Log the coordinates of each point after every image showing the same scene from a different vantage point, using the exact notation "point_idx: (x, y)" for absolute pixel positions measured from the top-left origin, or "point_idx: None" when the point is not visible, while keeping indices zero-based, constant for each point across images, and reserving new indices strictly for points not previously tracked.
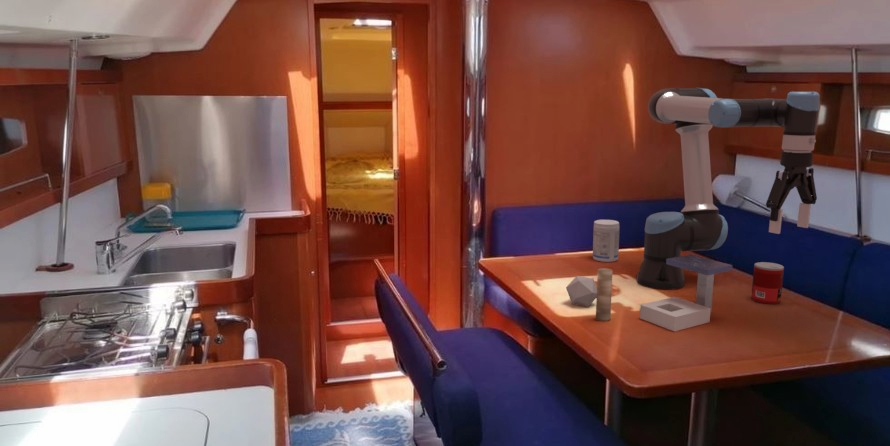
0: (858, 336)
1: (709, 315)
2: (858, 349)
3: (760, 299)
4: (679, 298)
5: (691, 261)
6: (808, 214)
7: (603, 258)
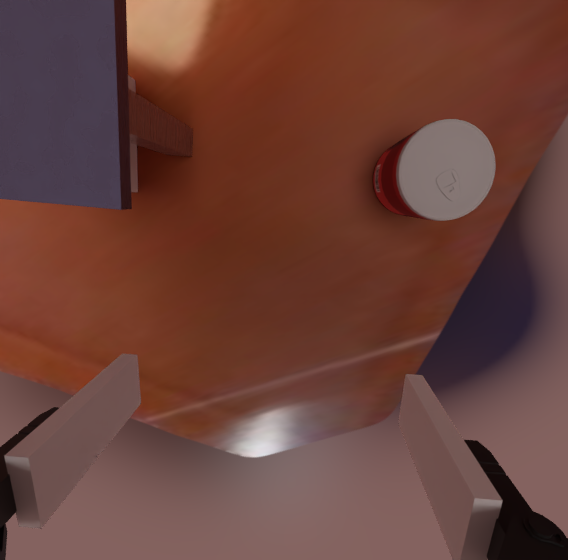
0: (313, 408)
1: None
2: (245, 430)
3: (373, 182)
4: None
5: (26, 75)
6: (425, 491)
7: None
